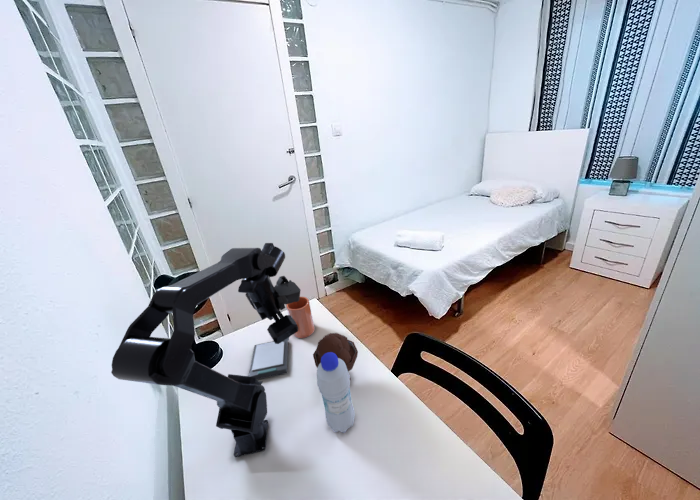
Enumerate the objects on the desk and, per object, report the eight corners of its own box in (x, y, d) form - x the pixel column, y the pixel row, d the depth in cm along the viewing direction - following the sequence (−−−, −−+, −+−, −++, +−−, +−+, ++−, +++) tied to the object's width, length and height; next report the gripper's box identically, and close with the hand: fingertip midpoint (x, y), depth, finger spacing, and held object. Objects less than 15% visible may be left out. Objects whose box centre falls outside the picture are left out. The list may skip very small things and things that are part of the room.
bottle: (330, 441, 58) (314, 374, 50) (324, 413, 64) (309, 348, 56) (360, 431, 60) (350, 364, 51) (351, 403, 66) (341, 339, 57)
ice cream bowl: (361, 397, 67) (355, 351, 60) (316, 400, 68) (305, 354, 61) (361, 362, 76) (355, 319, 70) (321, 364, 77) (312, 322, 71)
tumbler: (315, 335, 88) (309, 307, 83) (293, 340, 87) (285, 312, 83) (314, 321, 94) (308, 294, 90) (293, 325, 94) (286, 298, 89)
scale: (286, 373, 76) (285, 367, 75) (249, 381, 75) (247, 375, 74) (288, 342, 87) (287, 337, 86) (255, 348, 86) (254, 344, 85)
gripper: (311, 296, 62) (322, 335, 72) (275, 256, 75) (289, 294, 85) (265, 324, 58) (284, 361, 68) (235, 276, 70) (255, 314, 80)
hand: (279, 329), depth 75 cm, fingers open, 9 cm apart
